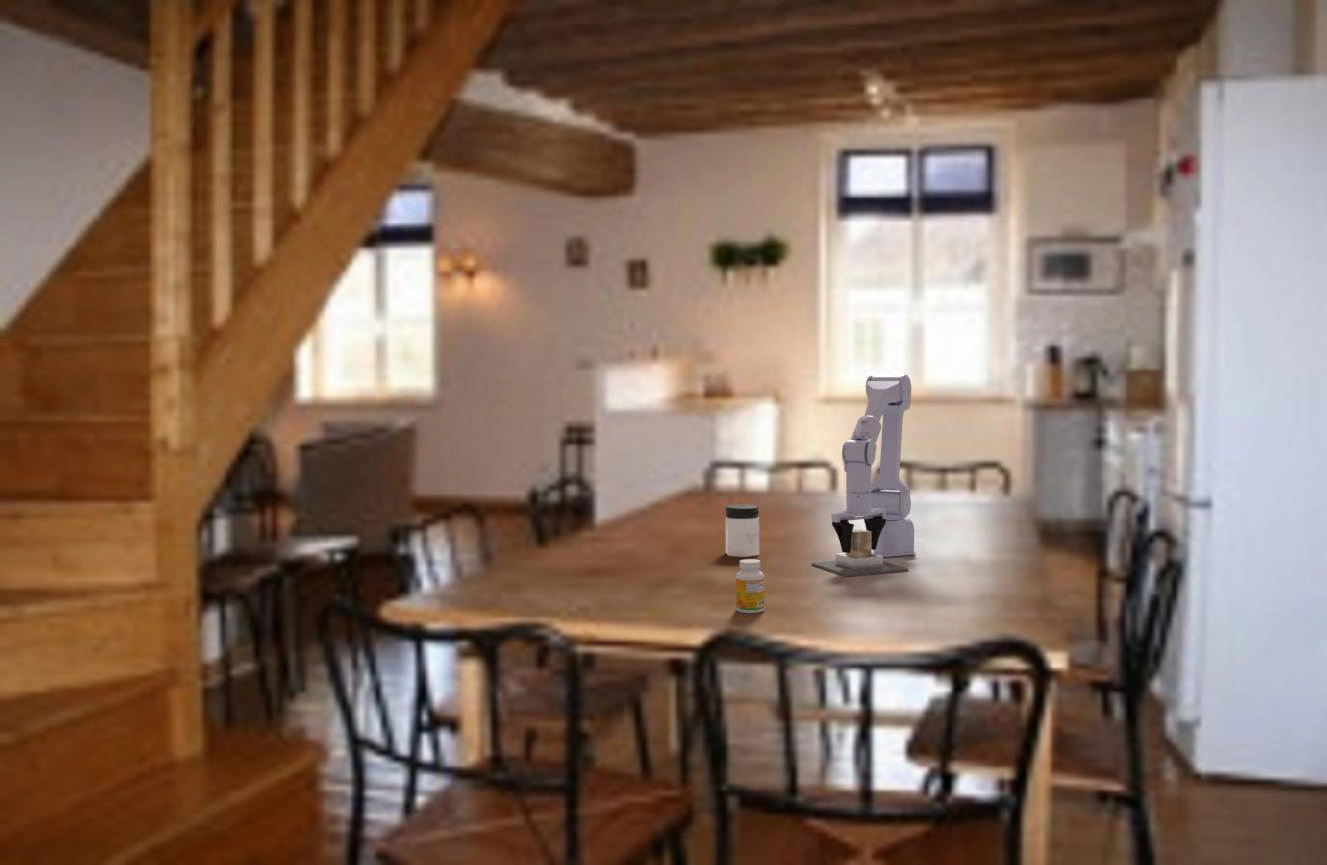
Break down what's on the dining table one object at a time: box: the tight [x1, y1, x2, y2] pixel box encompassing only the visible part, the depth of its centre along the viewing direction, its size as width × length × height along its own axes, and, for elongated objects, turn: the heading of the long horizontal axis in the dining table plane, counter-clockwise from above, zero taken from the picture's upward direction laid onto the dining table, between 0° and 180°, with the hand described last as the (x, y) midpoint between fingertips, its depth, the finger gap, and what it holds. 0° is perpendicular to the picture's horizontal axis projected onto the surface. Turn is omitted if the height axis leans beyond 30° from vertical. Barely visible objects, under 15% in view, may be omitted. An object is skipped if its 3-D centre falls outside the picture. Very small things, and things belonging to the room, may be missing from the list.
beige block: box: [847, 529, 871, 558], centre depth 268 cm, size 4×4×8 cm
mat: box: [811, 560, 909, 578], centre depth 268 cm, size 16×16×1 cm
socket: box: [835, 552, 884, 570], centre depth 268 cm, size 8×8×2 cm
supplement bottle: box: [735, 558, 765, 614], centre depth 225 cm, size 5×5×10 cm
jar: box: [724, 503, 760, 558], centre depth 289 cm, size 9×8×12 cm
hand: (859, 550), depth 268 cm, fingers open, 7 cm apart
